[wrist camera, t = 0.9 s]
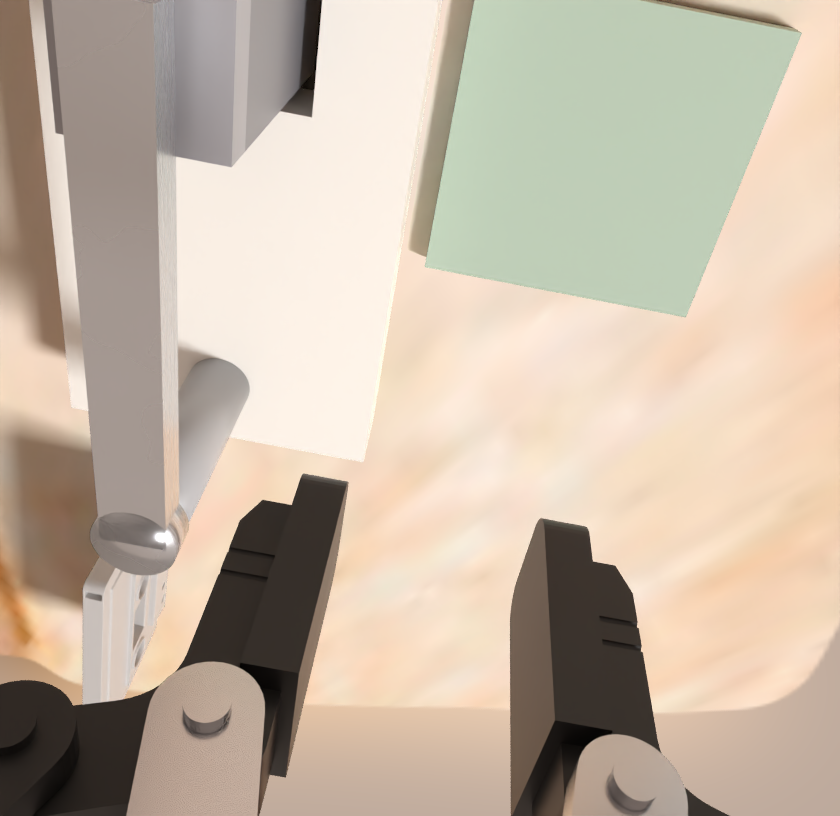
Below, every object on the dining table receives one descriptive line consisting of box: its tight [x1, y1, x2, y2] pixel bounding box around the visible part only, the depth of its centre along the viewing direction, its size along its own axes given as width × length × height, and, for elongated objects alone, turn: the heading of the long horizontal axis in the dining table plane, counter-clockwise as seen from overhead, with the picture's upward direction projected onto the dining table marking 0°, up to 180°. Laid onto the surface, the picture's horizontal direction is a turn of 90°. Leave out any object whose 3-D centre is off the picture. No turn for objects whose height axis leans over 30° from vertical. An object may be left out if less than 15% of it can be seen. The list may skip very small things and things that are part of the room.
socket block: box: [29, 0, 442, 521], centre depth 25 cm, size 21×12×10 cm, turn 170°
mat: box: [425, 0, 802, 317], centre depth 28 cm, size 10×10×1 cm
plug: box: [43, 0, 320, 167], centre depth 22 cm, size 4×4×10 cm
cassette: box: [83, 556, 168, 704], centre depth 38 cm, size 12×2×8 cm, turn 166°
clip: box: [51, 0, 189, 576], centre depth 21 cm, size 16×3×1 cm, turn 170°
